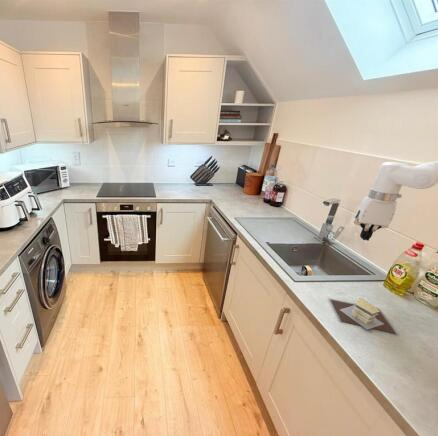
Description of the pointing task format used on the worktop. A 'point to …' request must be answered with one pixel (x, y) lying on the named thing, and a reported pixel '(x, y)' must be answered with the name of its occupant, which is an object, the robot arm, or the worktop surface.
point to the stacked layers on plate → (363, 314)
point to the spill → (347, 319)
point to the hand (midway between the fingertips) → (364, 238)
